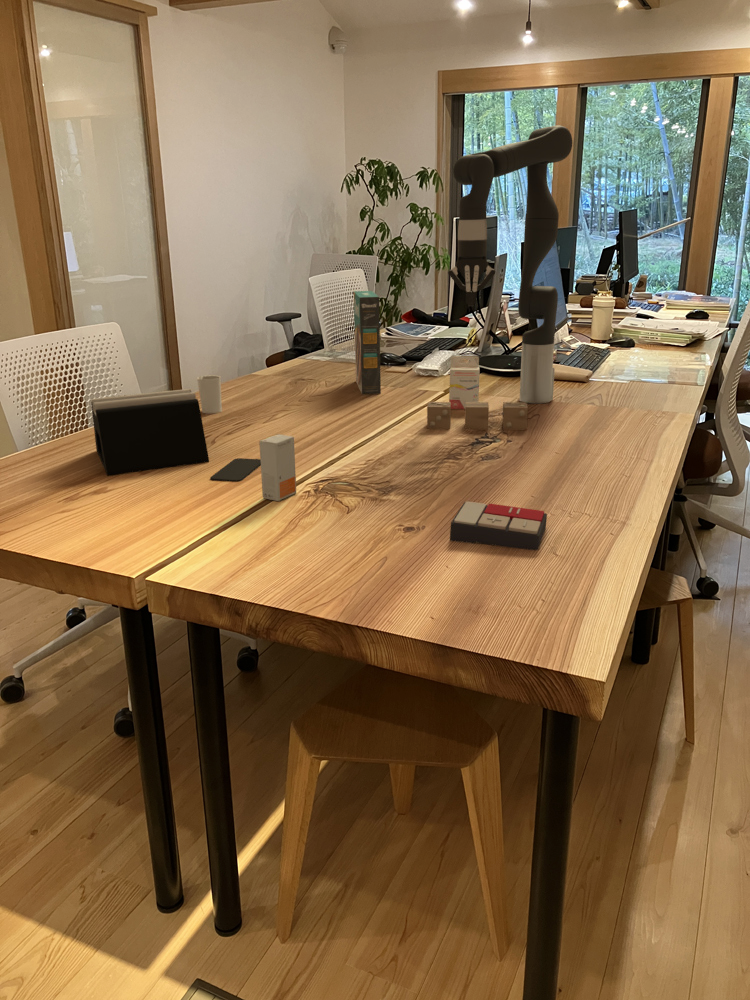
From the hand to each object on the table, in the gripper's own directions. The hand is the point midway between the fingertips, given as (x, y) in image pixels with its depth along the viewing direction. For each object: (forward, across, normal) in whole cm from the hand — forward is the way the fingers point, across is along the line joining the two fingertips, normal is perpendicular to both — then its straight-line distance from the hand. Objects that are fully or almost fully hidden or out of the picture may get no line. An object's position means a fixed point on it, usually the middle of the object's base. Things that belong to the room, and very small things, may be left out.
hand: (471, 305), depth 210 cm
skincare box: (+28, -38, -72) cm, 87 cm away
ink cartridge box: (+30, -2, +7) cm, 31 cm away
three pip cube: (+30, -8, -15) cm, 34 cm away
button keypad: (+29, +5, -90) cm, 94 cm away
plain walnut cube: (+30, +2, -15) cm, 33 cm away
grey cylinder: (+30, -75, 0) cm, 81 cm away
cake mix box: (+31, -33, +36) cm, 58 cm away
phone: (+29, -51, -56) cm, 81 cm away
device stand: (+29, -75, -46) cm, 93 cm away
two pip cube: (+30, +12, -15) cm, 35 cm away
